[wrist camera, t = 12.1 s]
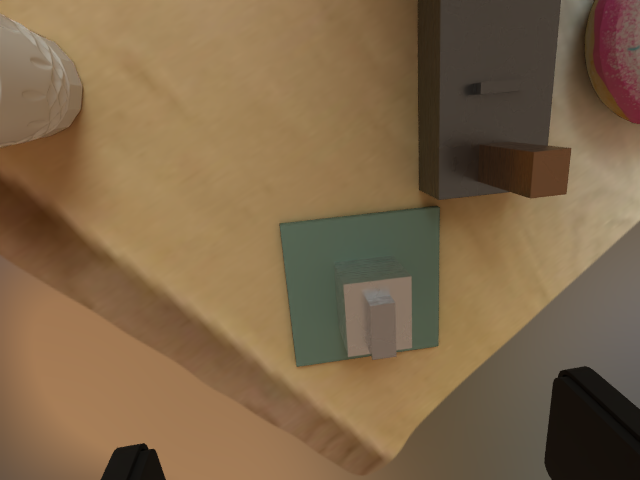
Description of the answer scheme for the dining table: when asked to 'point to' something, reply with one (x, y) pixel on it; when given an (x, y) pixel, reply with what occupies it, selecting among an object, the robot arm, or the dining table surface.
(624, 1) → the donut
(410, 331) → the lever cap
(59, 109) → the white cup
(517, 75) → the plane body
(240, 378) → the dining table surface
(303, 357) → the rubber mat
